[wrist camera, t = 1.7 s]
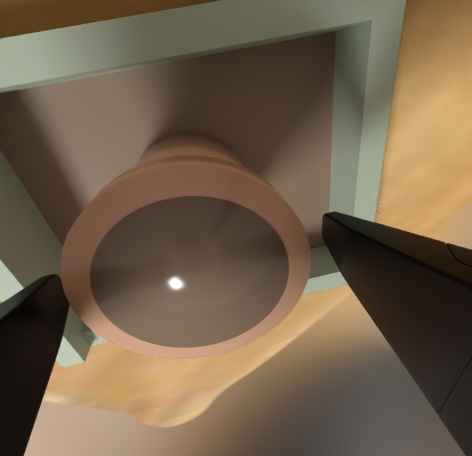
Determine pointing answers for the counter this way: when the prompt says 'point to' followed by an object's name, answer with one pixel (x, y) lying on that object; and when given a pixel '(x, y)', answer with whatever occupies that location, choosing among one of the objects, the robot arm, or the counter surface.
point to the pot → (185, 253)
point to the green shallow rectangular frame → (194, 116)
